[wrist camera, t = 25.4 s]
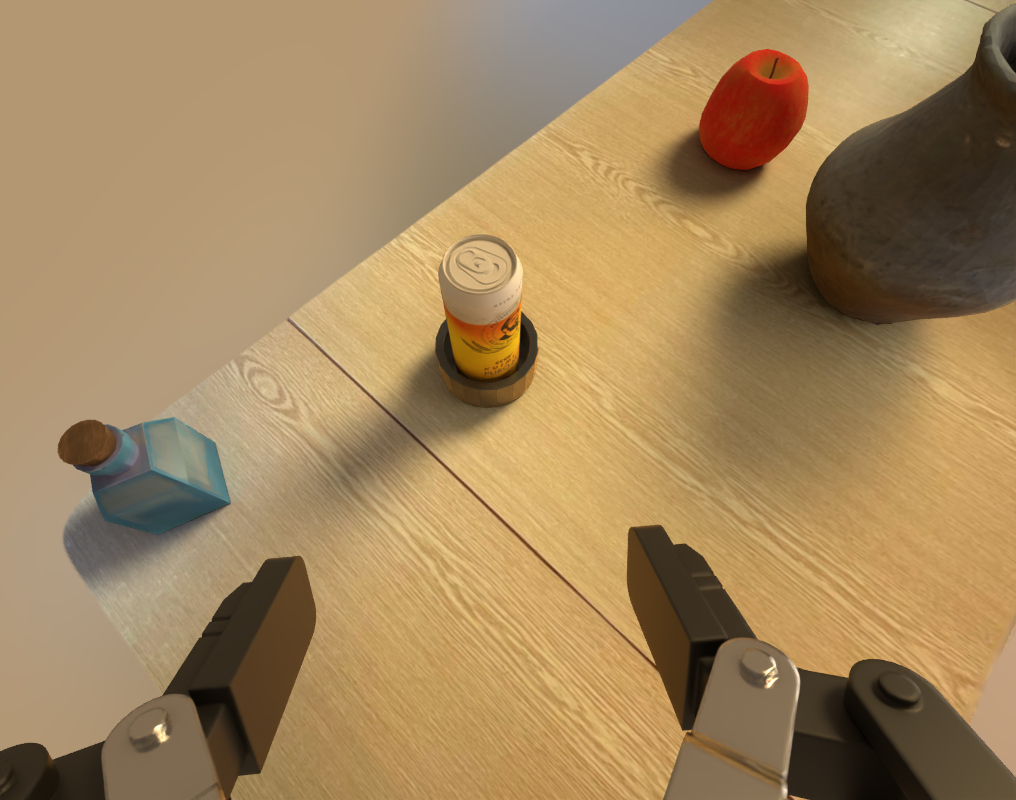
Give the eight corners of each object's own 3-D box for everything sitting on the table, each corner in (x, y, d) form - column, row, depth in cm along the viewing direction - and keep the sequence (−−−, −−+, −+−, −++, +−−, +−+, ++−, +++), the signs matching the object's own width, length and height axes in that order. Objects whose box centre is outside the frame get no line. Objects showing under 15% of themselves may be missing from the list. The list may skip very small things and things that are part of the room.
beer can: (495, 403, 47) (491, 312, 33) (443, 371, 48) (418, 271, 35) (530, 356, 49) (539, 252, 35) (479, 327, 50) (469, 216, 37)
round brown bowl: (500, 425, 47) (500, 409, 43) (421, 375, 49) (414, 355, 45) (553, 353, 50) (557, 331, 46) (477, 308, 52) (474, 285, 48)
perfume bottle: (145, 470, 45) (29, 421, 34) (215, 442, 46) (124, 385, 35) (157, 534, 43) (37, 503, 32) (230, 503, 44) (138, 462, 33)
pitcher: (811, 180, 60) (1000, -93, 37) (1000, 271, 54) (1356, 16, 32) (732, 293, 53) (902, 43, 30) (938, 408, 48) (1334, 211, 25)
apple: (797, 150, 62) (852, 62, 52) (743, 193, 59) (790, 108, 49) (728, 106, 65) (767, 15, 55) (673, 145, 62) (704, 56, 52)
